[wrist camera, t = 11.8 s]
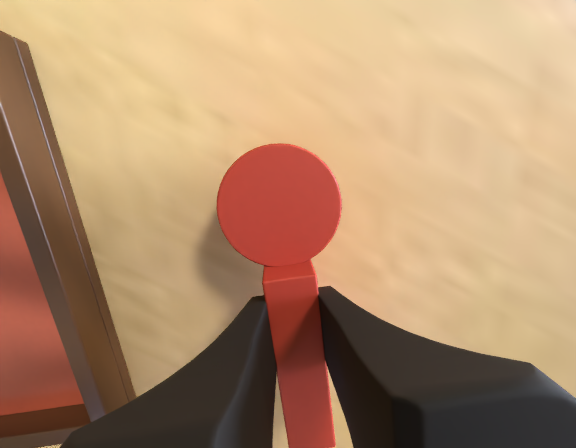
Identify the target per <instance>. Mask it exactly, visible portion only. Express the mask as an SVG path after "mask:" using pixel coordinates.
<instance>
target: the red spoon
mask: <svg viewBox="0 0 576 448" xmlns="http://www.w3.org/2000/svg"><path fill="white" fill-rule="evenodd" d="M341 209H342V203H341V194H340V190H339V186H338V183H337V181H336V179H335V177H334V175H333V173H332V172H331V170H330V169H329V168H328V166H327V165H326V164H325V163H324V162H323V161H322V160H321V159H320V158H319V157H317V156H316V155H315V154H313V153H312V152H310V151H308V150H306V149H304V148H301V147H298V146H295V145H290V144H269V145H264V146H260V147H257V148H255V149H253V150H251V151H249V152H247V153H245V154H244V155H242V156H241V157H240V158H239V159H237V160H236V161H235V162H234V163H233V164H232V166H231V167H230V168H229V169H228V171H227V172H226V174H225V175H224V177H223V179H222V182H221V184H220V187H219V191H218V196H217V215H218V220H219V224H220V227H221V229H222V232H223V233H224V235H225V237H226V239H227V240H228V241H229V243H230V244H231V245H232V246H233V248H234V249H235V250H236V251H238V252H239V253H240V254H241V255H243V256H244V257H246V258H247V259H249V260H251V261H253V262H255V263H258V264H261V265H264V271H263V281H262V285H263V291H264V297H265V302H266V304H267V310H268V316H269V322H270V329H271V335H272V341H273V347H274V353H275V360H276V366H277V377H278V383H279V390H280V396H281V402H282V408H283V414H284V421H285V427H286V433H287V439H288V445H289V448H332V447H335V445H336V443H335V434H334V425H333V416H332V407H331V398H330V390H329V381H328V372H327V364H326V361H325V353H324V344H323V336H322V327H321V318H320V309H319V300H318V294H319V292H318V283H317V275H316V273H315V270H314V267H313V265H312V262H311V258H312V257H314V256H316V255H317V254H318V253H319V252H321V251H322V250H323V249H324V248H325V247H326V246H327V244H328V243H329V242H330V240H331V239H332V237H333V236H334V234H335V232H336V230H337V227H338V225H339V221H340V217H341Z"/></svg>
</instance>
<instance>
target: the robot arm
mask: <svg viewBox="0 0 576 448" xmlns="http://www.w3.org/2000/svg"><path fill="white" fill-rule="evenodd" d="M318 292H319V294H318V300H319V309H320V318H321V327H322V336H323V344H324V353H325V361H326V364H327V367H328V370H329V373H330V376H331V378H332V381H333V384H334V387H335V390H336V393H337V396H338V398H339V401H340V404H341V407H342V410H343V413H344V416H345V419H346V422H347V425H348V428H349V432H350V435H351V439H352V443H353V447H354V448H576V398H575V397H573V396H572V395H571V394H569V393H568V392H567V391H566V390H564V389H563V388H562V387H560V386H559V385H558V384H557V383H555V382H554V381H553V380H552V379H550V378H549V377H548V376H546V375H545V374H544V373H543V372H541V371H540V370H539V369H537V368H536V367H535V366H533V365H532V364H531V363H528V362H522V361H517V360H512V359H506V358H501V357H496V356H491V355H485V354H480V353H476V352H472V351H468V350H464V349H460V348H456V347H453V346H449V345H446V344H442V343H439V342H436V341H433V340H430V339H427V338H424V337H421V336H418V335H415V334H413V333H410V332H408V331H405V330H403V329H401V328H398V327H396V326H394V325H392V324H390V323H387V322H385V321H383V320H381V319H380V318H378V317H376V316H374V315H372V314H371V313H369V312H367V311H365V310H364V309H362V308H361V307H359V306H357V305H356V304H354V303H353V302H351V301H350V300H349V299H347V298H346V297H344V296H343V295H342V294H340V293H339V292H338V291H336V290H335V289H334V288H332V287H331V286H326V287H319V288H318ZM276 372H277V366H276V360H275V353H274V347H273V341H272V335H271V329H270V322H269V316H268V310H267V304H266V302H265V297H264V295H263V296H256V297H252V298H251V299H250V300H249V302H248V303H247V304H246V305H245V307H244V308H243V309H242V310H241V312H240V313H239V314H238V315H237V317H236V318H235V319H234V320H233V321H232V323H231V324H230V325H229V326H228V327H227V328H226V329H225V330H224V331H223V332H222V333H221V334H220V335H219V337H218V338H217V339H216V340H215V341H214V342H213V343H212V344H210V345H209V346H208V347H207V348H206V349H205V350H204V351H203V352H201V353H200V354H199V355H198V356H197V357H196V358H194V359H193V360H192V361H191V362H189V363H188V364H187V365H185V366H184V367H182V368H181V369H180V370H178V371H177V372H176V373H174V374H173V375H172V376H170V377H169V378H167V379H166V380H165V381H163V382H162V383H160V384H158V385H157V386H155V387H154V388H152V389H151V390H149V391H147V392H146V393H144V394H142V395H141V396H139V397H137V398H136V399H134V400H132V401H131V402H129V403H127V404H125V405H123V406H122V407H120V408H118V409H116V410H114V411H112V412H110V413H108V414H106V415H104V416H102V417H101V418H99V419H97V420H95V421H93V422H91V423H89V424H87V425H85V426H83V427H81V428H79V429H77V430H75V431H73V432H71V434H70V435H69V436H68V437H67V439H66V440H65V441H64V443H63V444H62V445H61V447H60V448H272V438H273V418H274V403H275V388H276Z"/></svg>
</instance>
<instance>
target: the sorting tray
mask: <svg viewBox="0 0 576 448" xmlns="http://www.w3.org/2000/svg"><path fill="white" fill-rule="evenodd" d="M134 399H136V396H135V393H134V389H133V386H132V383H131V379H130V376H129V373H128V370H127V366H126V363H125V360H124V357H123V353H122V350H121V347H120V344H119V340H118V337H117V334H116V331H115V327H114V324H113V321H112V318H111V314H110V311H109V308H108V305H107V301H106V298H105V295H104V292H103V288H102V285H101V282H100V279H99V275H98V272H97V269H96V266H95V262H94V259H93V256H92V253H91V249H90V246H89V243H88V240H87V236H86V233H85V230H84V227H83V223H82V220H81V217H80V213H79V210H78V207H77V204H76V200H75V197H74V194H73V191H72V187H71V184H70V181H69V178H68V174H67V171H66V168H65V165H64V161H63V158H62V155H61V152H60V148H59V145H58V142H57V139H56V135H55V132H54V129H53V126H52V122H51V119H50V116H49V113H48V109H47V106H46V103H45V100H44V96H43V93H42V90H41V87H40V83H39V80H38V77H37V74H36V70H35V67H34V64H33V60H32V57H31V54H30V51H29V47H28V45H27V43H26V42H23V41H21V40H19V39H17V38H15V37H12V36H11V35H8V34H6V33H4V32H2V31H0V448H37V447H44V446H51V445H57V444H63V443H64V441H65V440H66V439H67V437H68V436H69V435H70V434H71V432H73V431H75V430H77V429H79V428H81V427H83V426H85V425H87V424H89V423H91V422H93V421H95V420H97V419H99V418H101V417H102V416H104V415H106V414H108V413H110V412H112V411H114V410H116V409H118V408H120V407H122V406H123V405H125V404H127V403H129V402H131V401H132V400H134Z"/></svg>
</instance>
